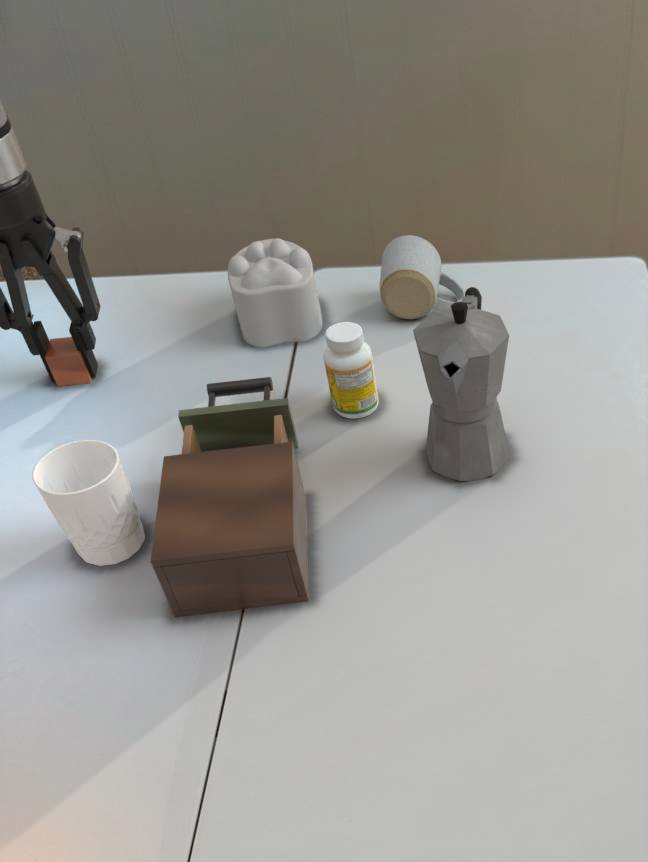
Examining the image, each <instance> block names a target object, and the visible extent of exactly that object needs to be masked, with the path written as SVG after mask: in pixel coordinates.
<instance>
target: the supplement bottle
mask: <svg viewBox="0 0 648 862" xmlns="http://www.w3.org/2000/svg"><path fill="white" fill-rule="evenodd" d="M363 331H364V330H363V328H362V327H361V326H360V325H359V324H358V323H355V322H352V321H341V322H336V323H333V324H332V325H330V326H329V327H328V328H327V329H326V331H325V340H326V341H325V342H326V348H325V349H324V352H323V363H324V368H325V372H326V378H327V383H328V389H329V394H330V399H331V404H332V408H333V410H334V411H335V412H336V413H337V414H338V415H339V416H341V417H342V418H345V419H351V420H352V419H354V420H355V419H361V418H365V417H368V416H370V415H372V414H373V413H374V412H375V411H376V410H377V409H378V406H379V403H380V401H379V400H380V399H379V393H378V386H377V378H376V373H375V372H376V371H375V366H374V365H375V364H374V359H373V353H372V348H371V347H370V345H369V344H368V343H367V342H366V341H365V337H364V332H363Z"/></svg>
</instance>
